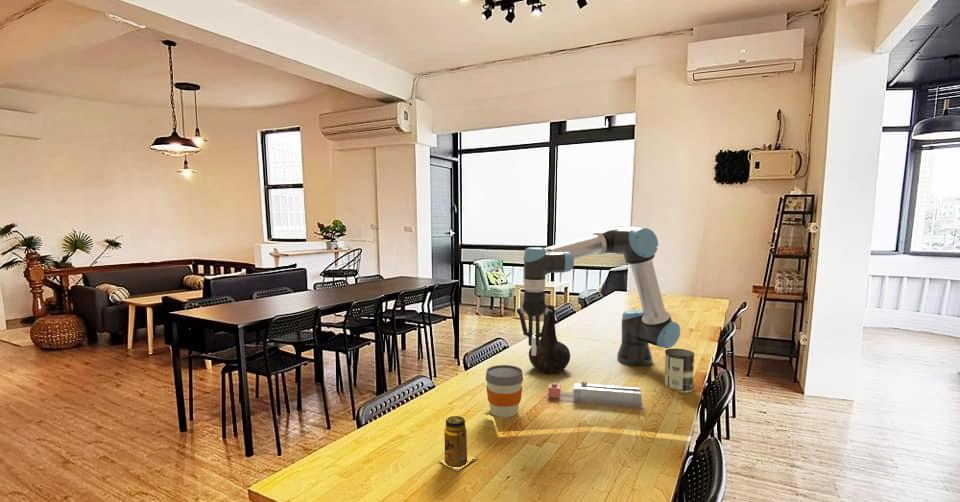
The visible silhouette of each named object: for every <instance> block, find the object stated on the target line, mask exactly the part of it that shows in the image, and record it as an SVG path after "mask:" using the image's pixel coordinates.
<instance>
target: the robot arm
mask: <svg viewBox="0 0 960 502" xmlns="http://www.w3.org/2000/svg"><path fill="white" fill-rule="evenodd" d="M658 241H659V240H658V237H657V235H656V233H655V232H654V231H653V230H652V229H650V228H647V227H643V226H615V227H610V228H607V229H603V230H599V231H596V232H594V233H593V234H591V236H585V237H583V238H582V237H581V238H578V239H574V240H571V241H566V242H563V243H559V244H555V245H551V246H547V247H539V246H538V247H527V248H525V249H524V256H523V267H524V268H523V270H524V271H523V273H524V274H523V275H524V276H523V282H524V283H523V289H524V291H523V304H522V306H521V307H518V308H517V309H516V312H517V313H516V314H518V316H519V320H520V324H521V329H522V333H523V335H524V336H526V337H527V338H528V346H529V347H530V348H531V355H532V356H536V346H539V340H540V339H541V336H544V334H545V330H546V326H547V322H548V319H549V316H550V315H551V313H552V310H550V309H548V308H547V307H546V306H547V304H546V292H545V290H546V274H552V273H553V274H555V273H556V274H557V273H563V274H564V273H567V272H570V271H572V270H573V269H574V264H575V260H576V259H579V258H583V257H587V256H591V255H595V254H597V255H605V254H617V255H623V257H624V260H625V263H626V264H627V265H629V266H630V268H631V272H632V275H633V278H634V283H635V285H636V289H637V294H638V298H639V301H640V305H641V308H642V310H641V309H640V310H639V309H638V310H626V311H624V312H623V313H622V316H621V317H622V318H621V343H620V347H619V349H618V352H617V354H616V355H617V358H616V359H617V361H618V362H620V363H622V364H625V365H630V366H636V367H637V366H638V367H639V366H641V367H643V366H645V367H646V366H649V365H651V364H652V363H653V356H652V352H651V349H650V346H649V344H651V345H654V346H656V347H659V348H663V349H672V347H674V346H675V345H676V344H677V343H678V341H679V338H680V336H681V327H680V325H679V323H677V322H676V321H673V320H672V317H671V313H670V312H669V311H667V310H666V308H665V305H664V301H663V297H662V294H661V290H660V285H659V282H658V278H657V273H656V271H655V267H654V262H653V261H654V258H655V255H656V253H657V251H658V246H659V242H658ZM544 310H545V314H546V316H545V320H544V319H543V323H544V324H542V327H541V326H540V325H541V322H540V321H541V315H542V314H544ZM524 312H525V313H526V314H527V317H528V326H527V323H526V319H525V315H524ZM534 317H535V335H533V334H534V333H533V330H534V325H533V323H534V322H533V319H534ZM527 327H528V328H527ZM540 328H541V329H540ZM540 330H541V331H540Z"/></svg>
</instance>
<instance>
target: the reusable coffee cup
mask: <svg viewBox="0 0 960 502" xmlns="http://www.w3.org/2000/svg"><path fill="white" fill-rule="evenodd" d="M485 381H486V395H487V401H488V403H489V407H490V413H491V417H492V416H493V417H494V418H495V416H496V417H499V418H509V417H514V416H516V415H517V414H518V413H519V407H520V403H521V401H522V395H523V394H522V392H523V386H522V384H523V381H524V375H523V370H522V368H520V367H518V366H514V365H509V364H508V365H507V364H497V365H493V366H489V367H488V368H487V369H486V373H485ZM493 417H492V418H493Z"/></svg>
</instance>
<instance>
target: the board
mask: <svg viewBox="0 0 960 502" xmlns="http://www.w3.org/2000/svg"><path fill="white" fill-rule="evenodd" d="M573 395H574V392H571V391H570V392H569V391H561V390H560V398H552V397H548V395H547V396H546V401H551V402H563V403H573V404H576V403H575V402H573ZM643 402H644V401H643V400H642V398H641V408H634V407H625V408H626V409H627V408H628V409H637V410H639V409H641V410H645V406H644V403H643ZM581 404H584V405H585V404H586V405H591V404H590V403H581ZM592 405H596V406H602V405H601V404H592ZM603 406H605V407H613V406H612V405H603ZM614 407H615V408H624V407H623V406H614Z"/></svg>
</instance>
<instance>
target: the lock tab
mask: <svg viewBox="0 0 960 502" xmlns="http://www.w3.org/2000/svg"><path fill="white" fill-rule="evenodd" d="M547 389H548V392H547V396H548V397H552V398H560V391H561V384H559V383H557V382H552V383H549V384H548V387H547Z"/></svg>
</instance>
